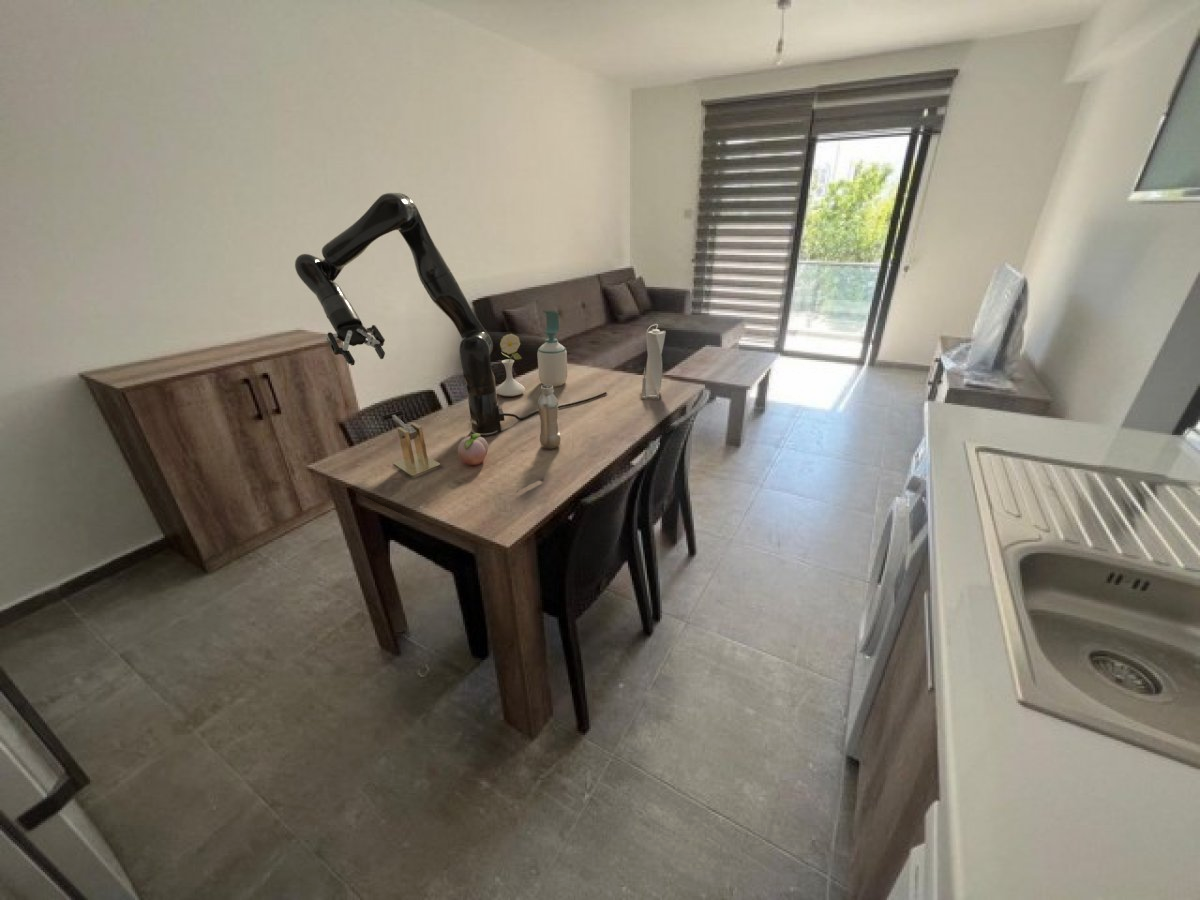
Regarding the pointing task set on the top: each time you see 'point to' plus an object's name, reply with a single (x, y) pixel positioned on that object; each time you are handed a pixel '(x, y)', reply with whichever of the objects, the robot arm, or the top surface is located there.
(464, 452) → the decorative fruit
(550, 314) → the soap bottle
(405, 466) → the bracket
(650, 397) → the skyscraper
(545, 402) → the plastic bottle
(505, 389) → the flower in vase
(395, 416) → the lever
